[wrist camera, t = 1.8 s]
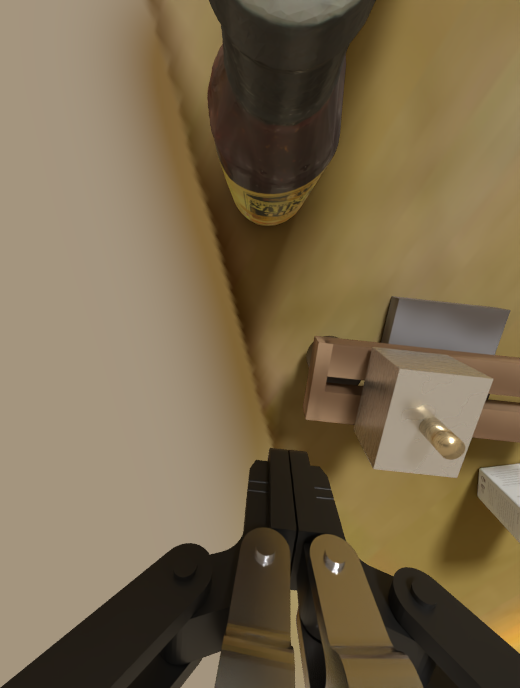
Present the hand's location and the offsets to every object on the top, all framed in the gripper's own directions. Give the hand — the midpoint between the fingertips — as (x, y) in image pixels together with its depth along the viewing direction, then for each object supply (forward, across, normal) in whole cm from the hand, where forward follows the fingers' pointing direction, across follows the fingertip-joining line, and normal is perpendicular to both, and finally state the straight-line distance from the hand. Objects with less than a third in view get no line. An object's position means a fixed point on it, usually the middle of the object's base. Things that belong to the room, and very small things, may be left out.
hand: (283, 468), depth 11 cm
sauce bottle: (+18, +2, -14) cm, 23 cm away
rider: (+10, -8, 0) cm, 13 cm away
